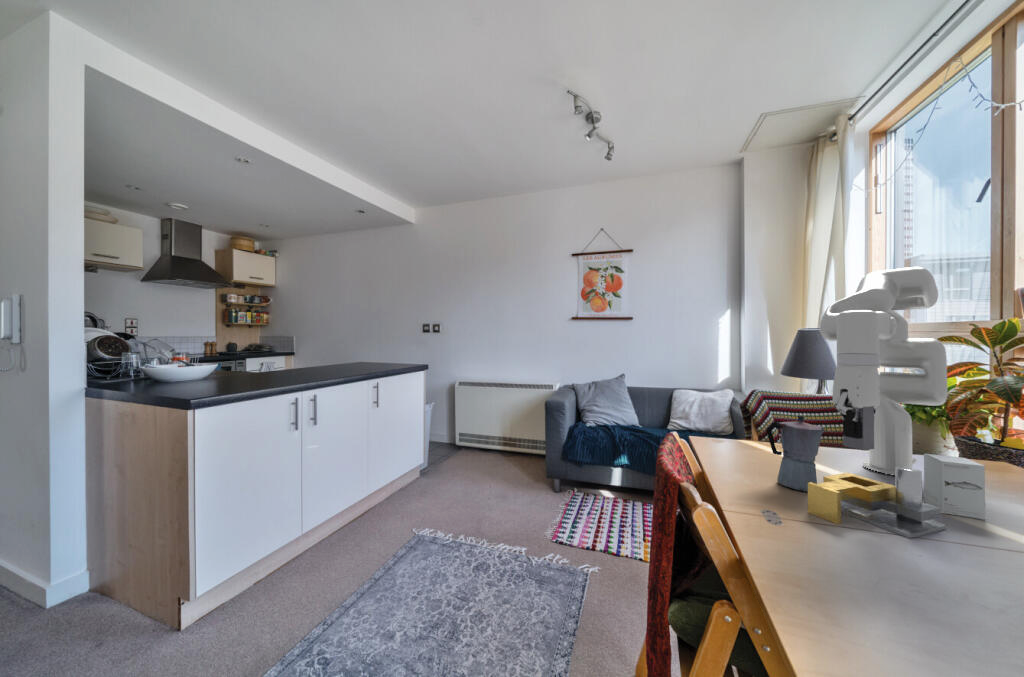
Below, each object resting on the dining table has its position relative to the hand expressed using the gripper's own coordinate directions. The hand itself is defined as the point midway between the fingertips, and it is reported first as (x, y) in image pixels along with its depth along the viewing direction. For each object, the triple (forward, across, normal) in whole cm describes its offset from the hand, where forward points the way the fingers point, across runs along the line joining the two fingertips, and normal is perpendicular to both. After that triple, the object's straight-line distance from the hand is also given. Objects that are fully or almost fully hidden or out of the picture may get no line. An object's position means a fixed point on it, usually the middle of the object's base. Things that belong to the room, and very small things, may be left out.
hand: (858, 435), depth 87 cm
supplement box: (+18, -22, +7) cm, 29 cm away
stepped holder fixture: (+18, +3, +3) cm, 18 cm away
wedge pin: (+3, 0, 0) cm, 3 cm away
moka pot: (+18, -1, -15) cm, 24 cm away
